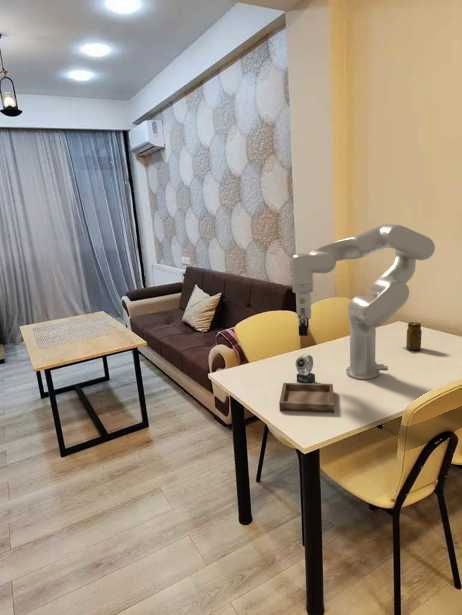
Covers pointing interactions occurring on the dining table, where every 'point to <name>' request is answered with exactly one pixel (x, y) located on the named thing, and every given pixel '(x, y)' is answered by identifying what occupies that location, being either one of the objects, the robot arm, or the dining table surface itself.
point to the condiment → (414, 338)
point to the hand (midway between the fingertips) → (303, 331)
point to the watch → (302, 364)
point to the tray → (307, 397)
